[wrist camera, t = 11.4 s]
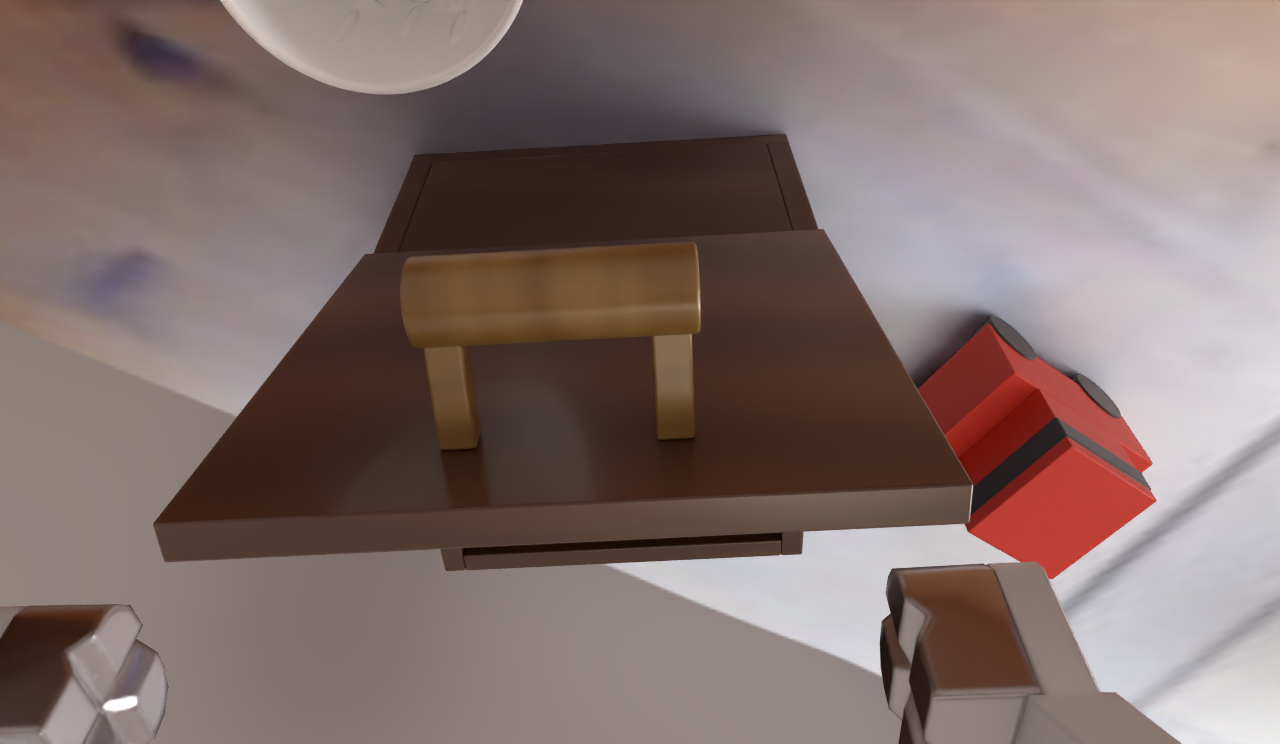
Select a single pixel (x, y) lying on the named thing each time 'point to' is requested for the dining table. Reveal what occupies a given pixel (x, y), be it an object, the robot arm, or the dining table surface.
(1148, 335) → the dining table surface
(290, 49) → the white cup
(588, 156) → the toy chest
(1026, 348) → the red stepped block
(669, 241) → the chest lid
